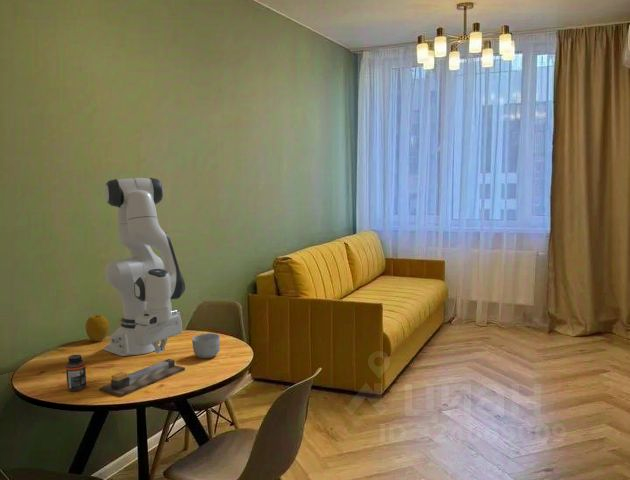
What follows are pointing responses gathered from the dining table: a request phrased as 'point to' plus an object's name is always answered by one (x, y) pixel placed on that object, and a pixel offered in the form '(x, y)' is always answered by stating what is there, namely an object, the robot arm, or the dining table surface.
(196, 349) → the teacup
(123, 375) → the tab
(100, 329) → the apple
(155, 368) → the tongs arm
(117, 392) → the board
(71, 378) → the supplement bottle
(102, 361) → the dining table surface
